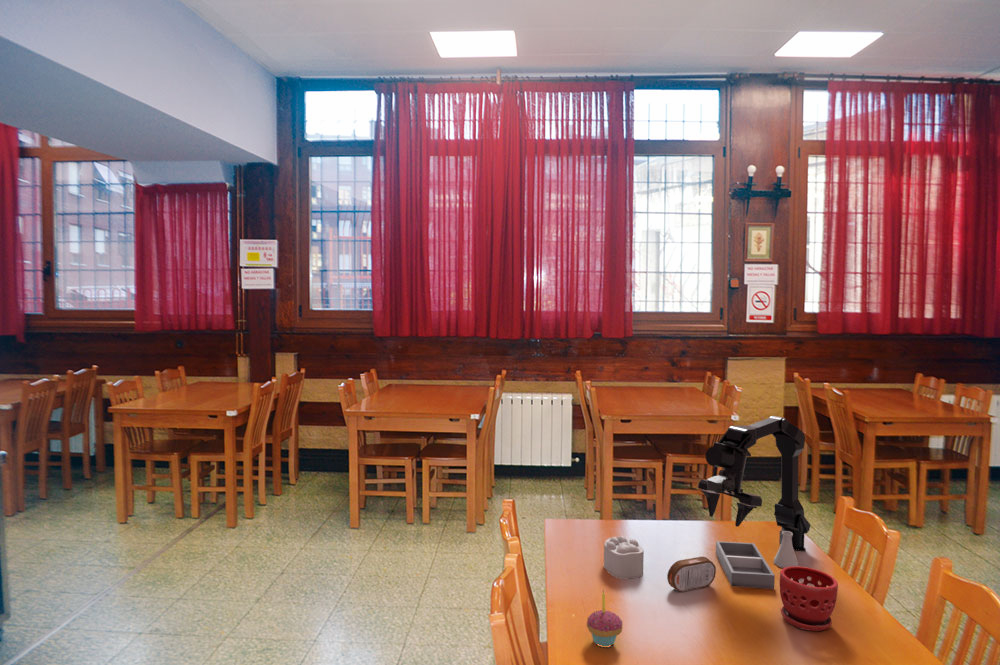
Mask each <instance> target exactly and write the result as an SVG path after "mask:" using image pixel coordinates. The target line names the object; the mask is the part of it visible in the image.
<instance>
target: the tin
mask: <svg viewBox="0 0 1000 665" xmlns="http://www.w3.org/2000/svg"><path fill="white" fill-rule="evenodd" d="M716 573H717V568H716V565H715V563H714V562H713V561H712V560H710V558H708V557H706V556H697V557H691V558H685V559H680V560H679V559H678V560H677V561H675V562H674V563H673V564H672V565H671V566H670V568H669V569H668V572H667V574H666V575H667V577H666V578H667V583H668V585H669V586H670V587H671V588H673V589H674V590H676V591H677V592H680V593H682V592H689V591H694V590H699V589H704V588H707V587H709V586H710V585H712V583H713V582H714V581H715V578H716Z"/></svg>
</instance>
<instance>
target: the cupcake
mask: <svg viewBox="0 0 1000 665" xmlns="http://www.w3.org/2000/svg"><path fill="white" fill-rule="evenodd" d="M601 602H602V604H601V607H602V609H600V610H596V611H593V612H592V613H591V614H590V615H589V616H588V617H587V621H586V627H587V630H588V632H590V634H591V636H592V639H593V643H594V642H595V643H596V644H599V645H602V646H609V645H612V644H615V642H616V638H617V636H619V635H620V634H621V633H622V632H623V620H621V618H620V617H619V615H617V614H616V613H614V612H612V611H610V610H606V594H605V592H604V589H602V593H601ZM595 643H594V644H595ZM596 644H595V645H596Z"/></svg>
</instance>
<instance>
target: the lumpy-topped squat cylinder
mask: <svg viewBox="0 0 1000 665" xmlns="http://www.w3.org/2000/svg"><path fill="white" fill-rule="evenodd" d="M603 544H604V545H603V569H604V568H605V569H606V570H607V571H608V572H609V573H610V574H611V575H612V576H611V575H610V574H609V573H608V572H607V571H606V570H605V569H604V570H605V571H606V572H607V573H608V574H609V575H610V576H611V577H613V576H614V577H613V578H615V577H617V578H616V579H618V578H621V579H620V580H625V578H626V579H631V578H640V577H643V575H644V558H645V557H644V553H645V551H644V548H643V547H642V546H641V545H640V544H639V542H638V540H636V539H634V538H633V539H631V538H630V539H628V538H626V537H625V536H623V535H621V536H613V537H612V536H611V537H609V538H607V539H605V541H604V543H603Z"/></svg>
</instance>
